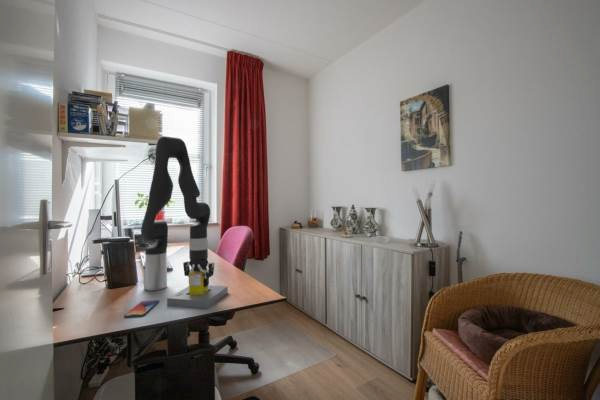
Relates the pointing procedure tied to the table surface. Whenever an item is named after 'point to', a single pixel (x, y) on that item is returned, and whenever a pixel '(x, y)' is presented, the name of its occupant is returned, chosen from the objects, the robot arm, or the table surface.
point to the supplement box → (197, 284)
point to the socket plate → (197, 297)
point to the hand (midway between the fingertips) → (198, 285)
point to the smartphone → (141, 309)
